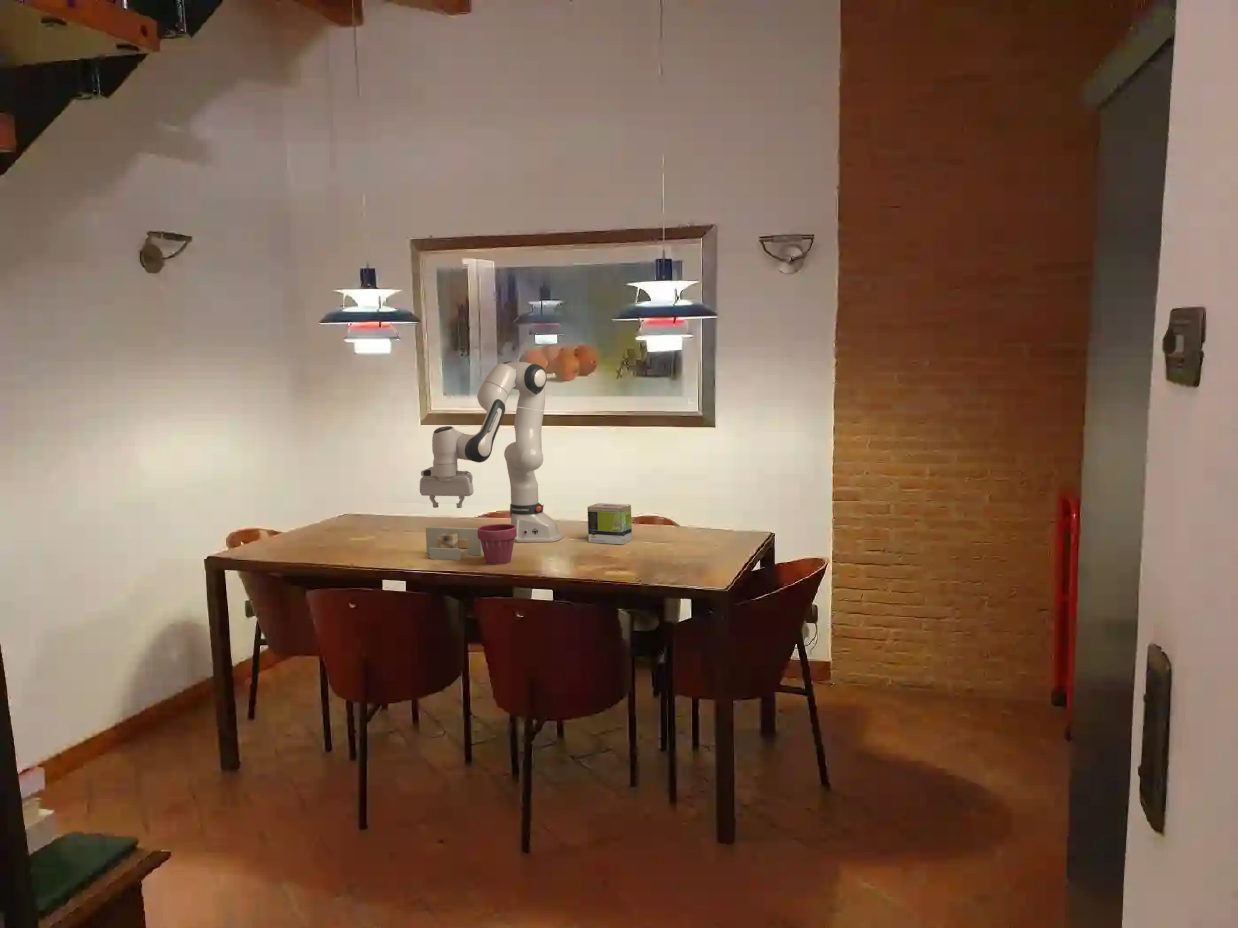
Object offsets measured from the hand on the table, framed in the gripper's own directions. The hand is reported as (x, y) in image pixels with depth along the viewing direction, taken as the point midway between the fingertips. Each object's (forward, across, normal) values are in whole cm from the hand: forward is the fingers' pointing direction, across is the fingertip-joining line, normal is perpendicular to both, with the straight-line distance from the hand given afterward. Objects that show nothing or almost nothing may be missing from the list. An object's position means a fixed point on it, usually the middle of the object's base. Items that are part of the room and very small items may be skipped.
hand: (447, 507), depth 345 cm
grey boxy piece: (+19, 0, -1) cm, 19 cm away
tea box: (+20, -53, -36) cm, 67 cm away
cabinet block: (+16, 0, 0) cm, 16 cm away
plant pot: (+19, -21, +4) cm, 28 cm away
